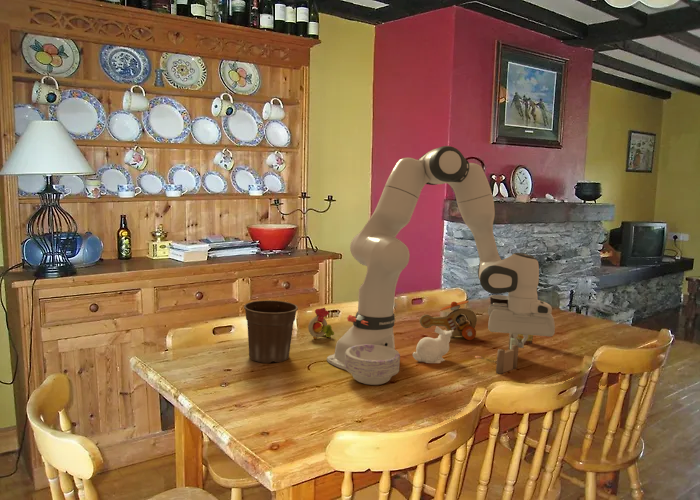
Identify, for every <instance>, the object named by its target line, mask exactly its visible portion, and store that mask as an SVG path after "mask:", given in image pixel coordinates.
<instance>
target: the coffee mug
mask: <svg viewBox="0 0 700 500" xmlns="http://www.w3.org/2000/svg"><path fill="white" fill-rule="evenodd" d="M489 298H490V299H489V300H490V301H489V303H490V305H491V304H493V303H507V304H508V295H503V294H491V295H490V296H489ZM492 306H493V305H492ZM507 308H508V307H507Z"/></svg>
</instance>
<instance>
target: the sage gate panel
mask: <svg viewBox="0 0 700 500" xmlns="http://www.w3.org/2000/svg"><path fill="white" fill-rule="evenodd" d="M512 345H516V342H515V340H514V338H513V333H509V338H508V348H507V350H510V349H511V347H512Z"/></svg>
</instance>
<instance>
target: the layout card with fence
mask: <svg viewBox="0 0 700 500" xmlns="http://www.w3.org/2000/svg"><path fill="white" fill-rule="evenodd" d="M518 355H519V346H518V345H512V347H511V349H510V350H508V349H507V350H505V349H503V348H498V349H497V355H496V369H495V373H496V374H498V375H502V374H504V373H506V372H507V373H508V372H510V371H513V370H516V369H518V359H519V358H518ZM474 357H475V358H476V359H484V356H481V355H475V356H474ZM487 361H489V362H490V359H488V358H487ZM492 363H495V361H494V360H492Z"/></svg>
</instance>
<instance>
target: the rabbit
mask: <svg viewBox="0 0 700 500" xmlns="http://www.w3.org/2000/svg"><path fill="white" fill-rule="evenodd" d="M453 331H454V330H450V331H448V330H447V329H444V330H443V328H441V327H440V326H435V329H434V333H436V334H439V335H438V336H437V337H436V338H433V337H430V336H425V337H423V338H421V339H420V340H419V341H418V342H417V344H416V348H415V351H413V353H412V357H413V359H414V360H415V361H417V362H420V363H425V364H441V363H442V362H445V361H446V359H444V358H443V356H445V355H446V354H448V352H449V351H450V341H451V337H450V336H452V332H453Z"/></svg>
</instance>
